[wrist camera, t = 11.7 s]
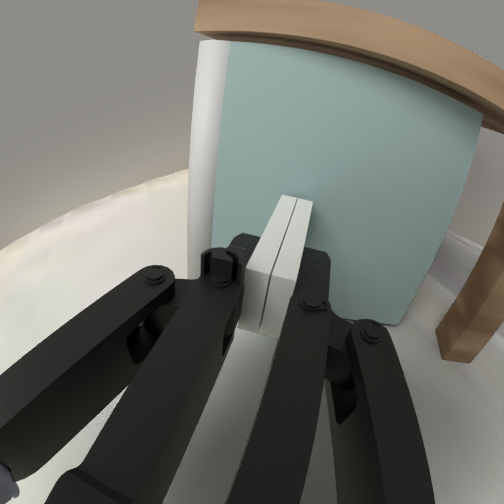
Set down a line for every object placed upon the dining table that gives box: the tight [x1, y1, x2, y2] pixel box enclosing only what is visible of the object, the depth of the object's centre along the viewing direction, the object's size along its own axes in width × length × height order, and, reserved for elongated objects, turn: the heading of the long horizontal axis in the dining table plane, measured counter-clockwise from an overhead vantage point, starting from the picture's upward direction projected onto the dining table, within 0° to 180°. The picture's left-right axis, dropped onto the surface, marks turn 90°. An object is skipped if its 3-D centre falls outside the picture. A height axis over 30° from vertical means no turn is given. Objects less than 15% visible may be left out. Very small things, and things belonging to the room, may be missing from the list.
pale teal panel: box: [188, 40, 483, 325], centre depth 15 cm, size 2×15×15 cm, turn 82°
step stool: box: [194, 0, 504, 363], centre depth 21 cm, size 22×22×18 cm
